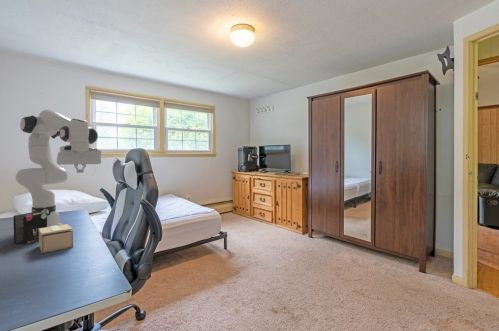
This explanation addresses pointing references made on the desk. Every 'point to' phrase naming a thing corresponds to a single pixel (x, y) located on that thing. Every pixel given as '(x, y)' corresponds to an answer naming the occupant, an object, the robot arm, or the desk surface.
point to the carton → (55, 241)
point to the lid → (55, 229)
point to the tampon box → (28, 226)
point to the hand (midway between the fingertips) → (80, 172)
